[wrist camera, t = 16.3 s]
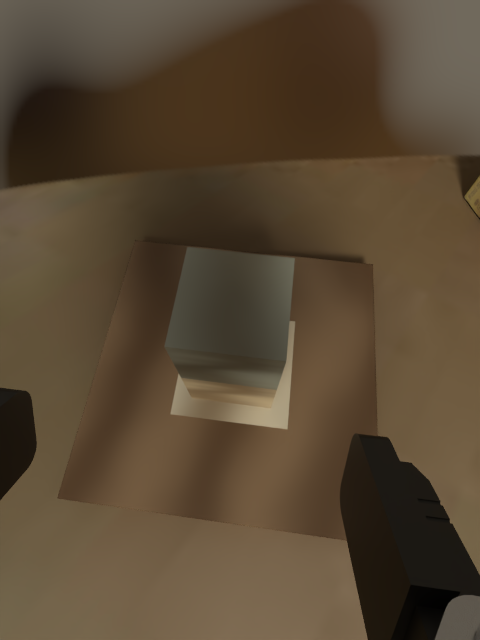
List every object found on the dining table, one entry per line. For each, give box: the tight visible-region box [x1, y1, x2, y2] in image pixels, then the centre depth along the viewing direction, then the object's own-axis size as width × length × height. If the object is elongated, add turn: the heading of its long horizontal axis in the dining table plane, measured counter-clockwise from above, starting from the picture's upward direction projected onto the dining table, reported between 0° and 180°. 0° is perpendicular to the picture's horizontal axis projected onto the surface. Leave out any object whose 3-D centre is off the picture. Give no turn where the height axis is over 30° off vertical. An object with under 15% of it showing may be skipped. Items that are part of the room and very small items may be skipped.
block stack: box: [164, 247, 295, 408], centre depth 18 cm, size 4×4×8 cm
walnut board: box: [58, 240, 378, 540], centre depth 22 cm, size 16×16×2 cm
